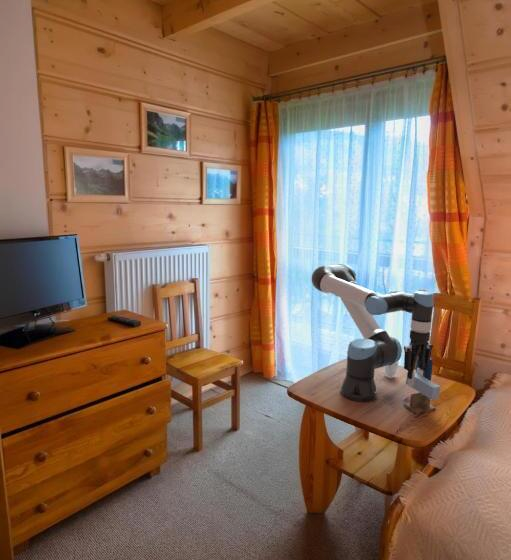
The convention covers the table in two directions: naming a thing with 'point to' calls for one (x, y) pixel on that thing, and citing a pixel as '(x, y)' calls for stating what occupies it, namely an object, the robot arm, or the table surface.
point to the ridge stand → (419, 403)
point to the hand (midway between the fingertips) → (414, 384)
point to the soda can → (429, 370)
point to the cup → (390, 370)
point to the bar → (425, 386)
